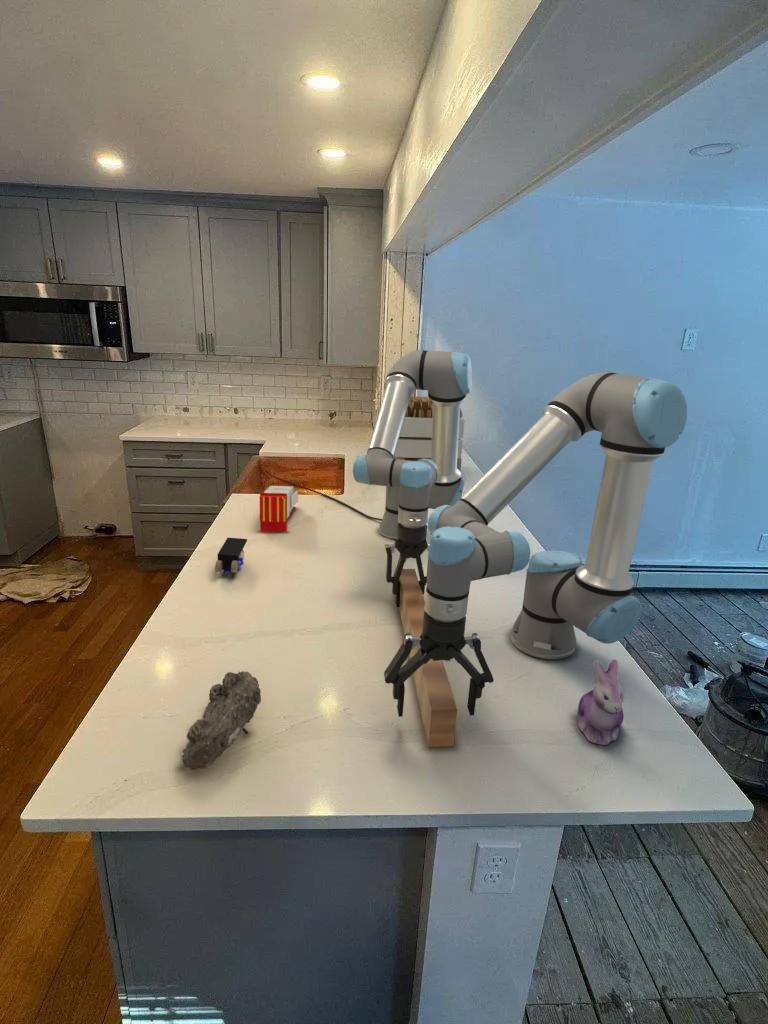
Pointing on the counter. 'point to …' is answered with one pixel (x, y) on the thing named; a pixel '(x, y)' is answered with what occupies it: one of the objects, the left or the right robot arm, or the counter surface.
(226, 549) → the figurine character
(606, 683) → the figurine
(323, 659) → the counter surface
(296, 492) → the toy
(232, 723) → the fossil
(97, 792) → the counter surface
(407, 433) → the grey tall slatted box
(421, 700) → the post
